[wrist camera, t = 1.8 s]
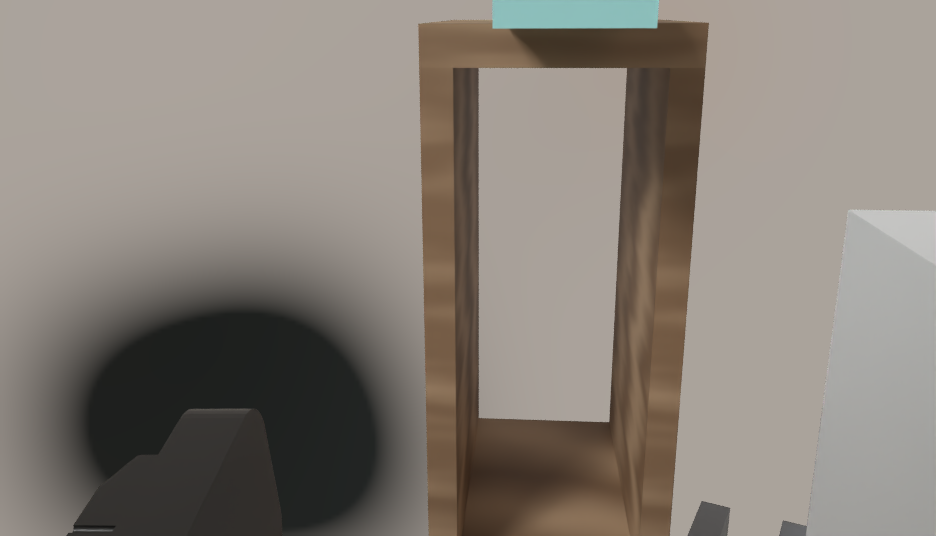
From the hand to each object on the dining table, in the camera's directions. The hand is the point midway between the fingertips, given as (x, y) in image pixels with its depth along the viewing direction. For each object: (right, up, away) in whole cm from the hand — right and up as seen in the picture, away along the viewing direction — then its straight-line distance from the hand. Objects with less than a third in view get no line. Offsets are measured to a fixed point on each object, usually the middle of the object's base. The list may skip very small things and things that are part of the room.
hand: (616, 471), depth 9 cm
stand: (+2, -23, +37) cm, 44 cm away
